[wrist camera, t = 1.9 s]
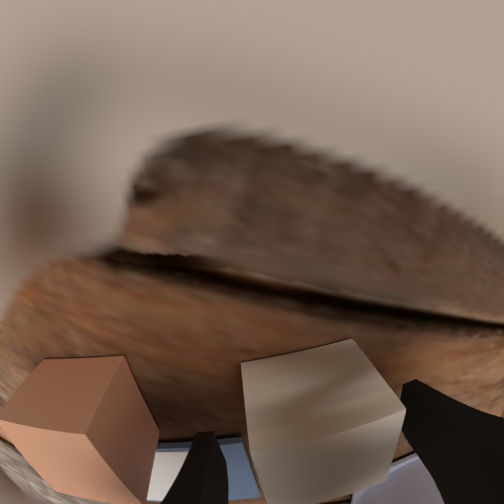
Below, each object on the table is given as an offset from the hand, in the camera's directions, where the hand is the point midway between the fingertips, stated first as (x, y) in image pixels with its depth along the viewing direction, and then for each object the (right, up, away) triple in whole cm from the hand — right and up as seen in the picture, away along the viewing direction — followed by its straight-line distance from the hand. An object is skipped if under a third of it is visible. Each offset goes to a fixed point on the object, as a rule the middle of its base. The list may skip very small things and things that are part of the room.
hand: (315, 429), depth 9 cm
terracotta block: (-9, 0, +2) cm, 9 cm away
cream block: (0, 0, +2) cm, 2 cm away
